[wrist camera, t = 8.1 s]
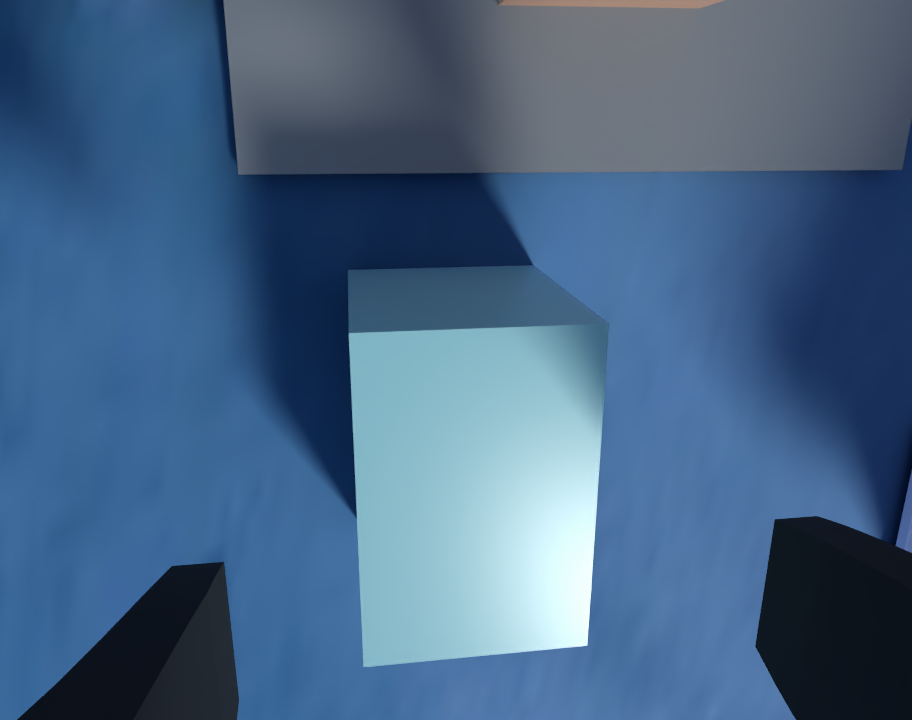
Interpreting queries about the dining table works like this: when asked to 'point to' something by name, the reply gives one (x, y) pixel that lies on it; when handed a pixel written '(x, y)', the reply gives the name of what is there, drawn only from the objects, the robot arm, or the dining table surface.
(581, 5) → the terracotta brick
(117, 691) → the robot arm
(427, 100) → the build mat
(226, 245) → the dining table surface
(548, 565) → the teal brick
